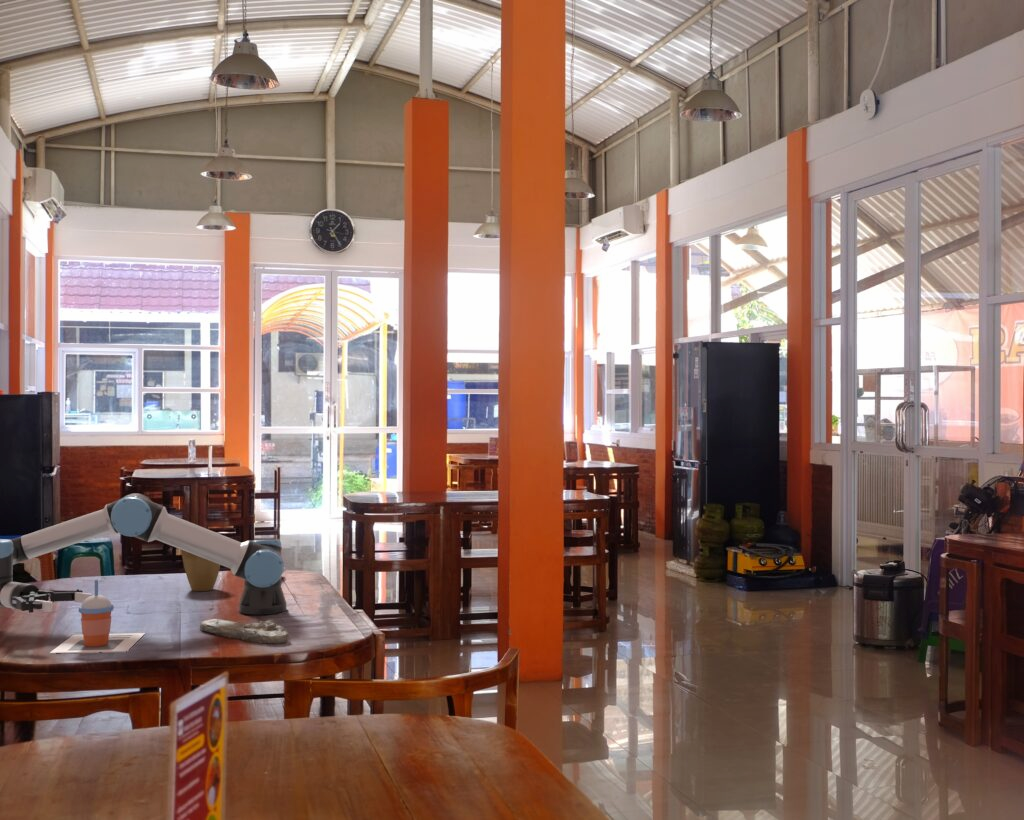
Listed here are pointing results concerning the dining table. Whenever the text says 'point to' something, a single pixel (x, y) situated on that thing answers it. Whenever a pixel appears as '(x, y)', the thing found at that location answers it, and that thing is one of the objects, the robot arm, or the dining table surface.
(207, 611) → the dining table surface
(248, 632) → the elongated rock
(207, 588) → the plant pot
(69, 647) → the picture frame
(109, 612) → the cup with straw
